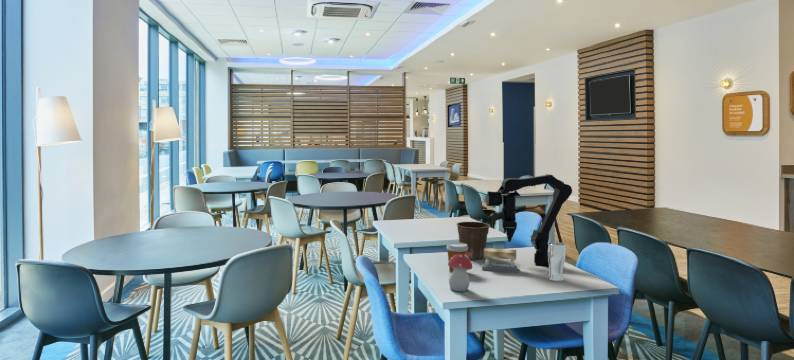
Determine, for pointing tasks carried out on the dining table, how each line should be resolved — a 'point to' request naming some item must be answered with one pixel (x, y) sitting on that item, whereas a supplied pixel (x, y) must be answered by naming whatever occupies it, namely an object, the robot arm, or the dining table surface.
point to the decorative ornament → (460, 272)
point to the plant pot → (473, 237)
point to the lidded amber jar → (456, 250)
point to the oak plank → (499, 253)
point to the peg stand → (499, 266)
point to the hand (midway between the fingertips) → (508, 239)
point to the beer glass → (556, 260)
